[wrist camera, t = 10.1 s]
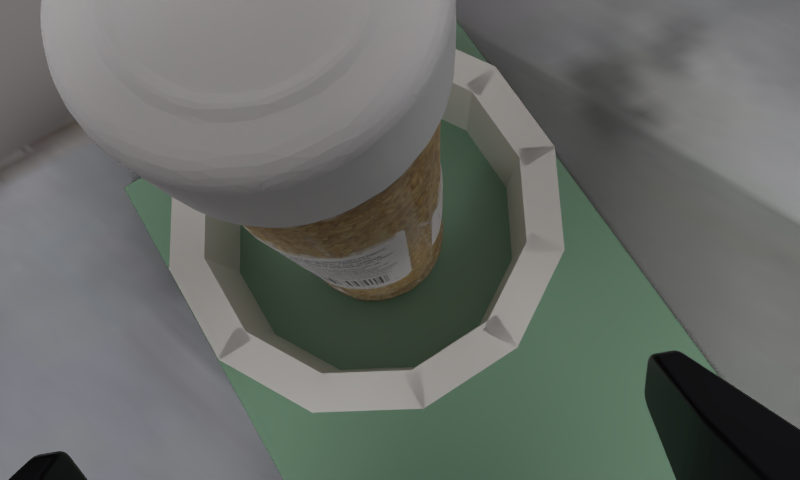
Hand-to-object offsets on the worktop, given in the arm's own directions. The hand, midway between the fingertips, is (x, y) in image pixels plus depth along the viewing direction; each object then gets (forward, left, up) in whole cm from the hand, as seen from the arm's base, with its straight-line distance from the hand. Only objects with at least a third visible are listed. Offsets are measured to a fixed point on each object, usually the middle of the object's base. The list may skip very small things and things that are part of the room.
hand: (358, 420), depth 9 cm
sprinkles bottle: (+5, -2, -10) cm, 11 cm away
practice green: (+2, -2, -10) cm, 10 cm away
